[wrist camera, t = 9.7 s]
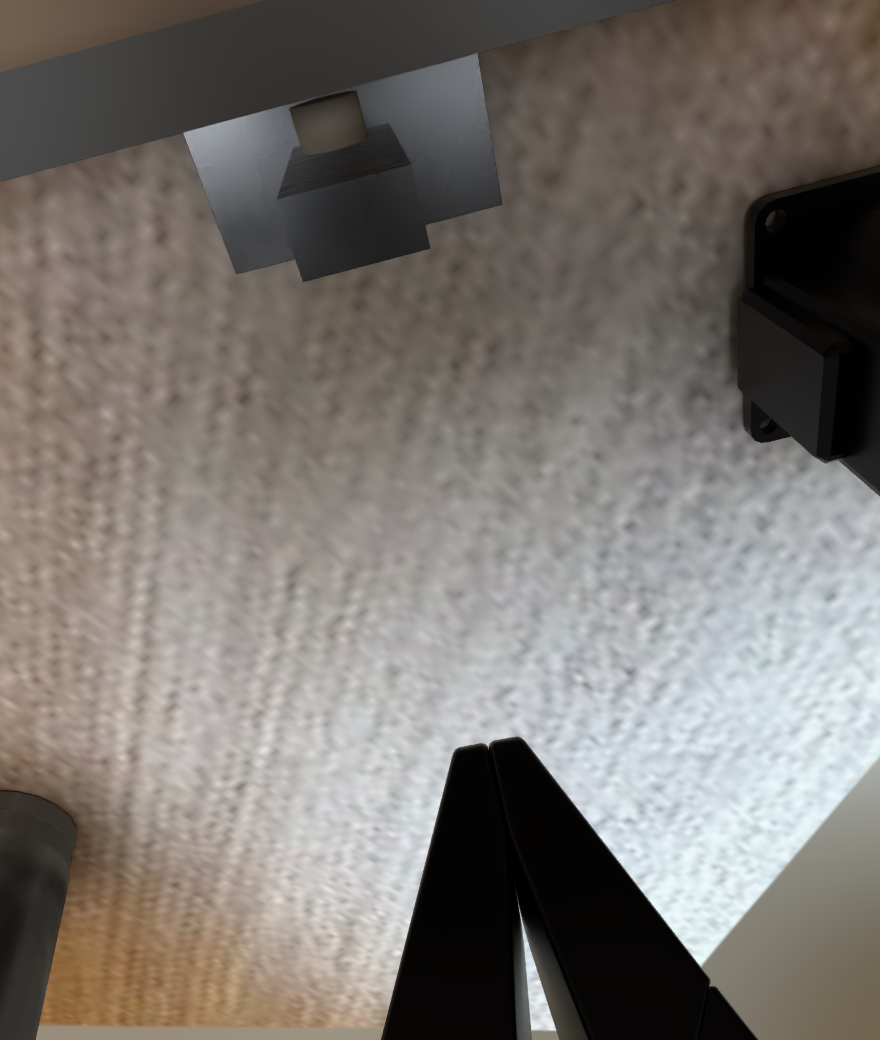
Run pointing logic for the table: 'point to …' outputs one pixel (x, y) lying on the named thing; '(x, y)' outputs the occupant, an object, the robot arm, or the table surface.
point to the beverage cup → (30, 905)
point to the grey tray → (231, 64)
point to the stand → (352, 175)
